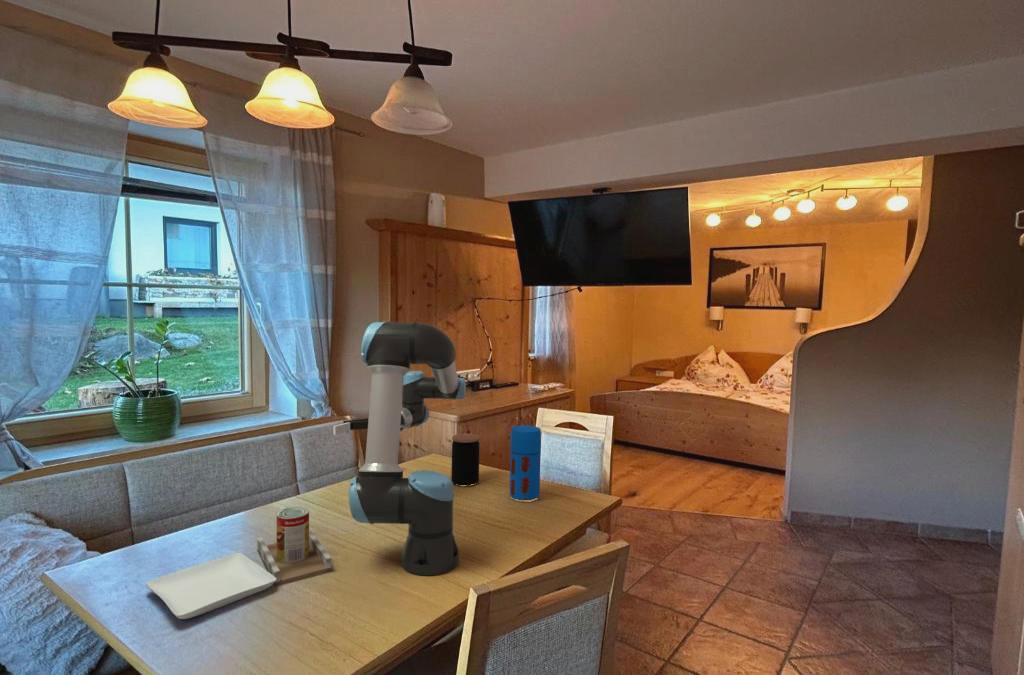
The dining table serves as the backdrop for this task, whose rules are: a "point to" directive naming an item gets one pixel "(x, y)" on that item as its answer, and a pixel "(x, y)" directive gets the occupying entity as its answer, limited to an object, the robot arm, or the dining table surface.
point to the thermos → (525, 462)
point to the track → (288, 573)
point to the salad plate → (210, 585)
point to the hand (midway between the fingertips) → (351, 433)
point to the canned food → (292, 535)
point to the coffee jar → (465, 459)
